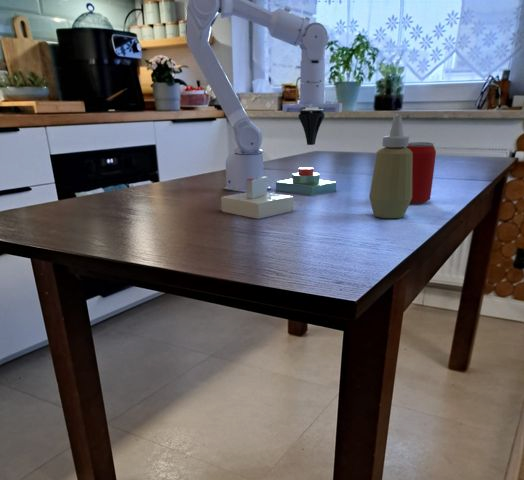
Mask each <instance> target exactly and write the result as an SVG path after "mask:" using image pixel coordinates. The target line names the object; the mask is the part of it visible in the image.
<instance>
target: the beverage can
mask: <svg viewBox="0 0 524 480" xmlns="http://www.w3.org/2000/svg"><path fill="white" fill-rule="evenodd" d="M405 148H407V149H410V150H411V151H412V152H413V161H412V199H411V202H410V204H411V205H423V204H425V203H427V202H428V201H430V200H431V195H432V189H433V180H434V174H435V173H434V172H435V165H436V155H437V151H436V148H435V145H434V143H433V142H428V141H427V142H425V141H420V142H419V141H417V142H416V141H414V142H408V146H407V147H405ZM410 204H409V205H410Z"/></svg>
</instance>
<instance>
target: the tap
mask: <svg viewBox="0 0 524 480" xmlns="http://www.w3.org/2000/svg"><path fill="white" fill-rule="evenodd" d="M267 187H268V177H267V176H263V177H262V176H261V177H257V178H253V179H252V178H249V179H247V180H246V192H245V193H246V198H248V199H254V198H257V197H260V196H263V195H266V194H267V192H268V189H267Z"/></svg>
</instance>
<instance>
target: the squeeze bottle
mask: <svg viewBox="0 0 524 480" xmlns="http://www.w3.org/2000/svg"><path fill="white" fill-rule="evenodd" d="M409 141H410V137H409V136H406V135H404V129H403V117H402V114H394V115H393V119H392V122H391V126H390V130H389V133H388V135H385V136H382V144H381V146H382V148H379V149H378V150H377V151H376V154H375V160H374V166H373V172H372V178H371V184H370V189H369V195H368V198H369V200H370V205H371V210H372V214H373V216H374V217H377V218H381V219H398V218H399V219H400V218H403V217H404V216H406V213H407V211H408V209H409V206H410V202H411V199H412V161H413V152H412V151H411V150H410V149H407V148H405V147H407V146H408V143H410V142H409Z"/></svg>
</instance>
